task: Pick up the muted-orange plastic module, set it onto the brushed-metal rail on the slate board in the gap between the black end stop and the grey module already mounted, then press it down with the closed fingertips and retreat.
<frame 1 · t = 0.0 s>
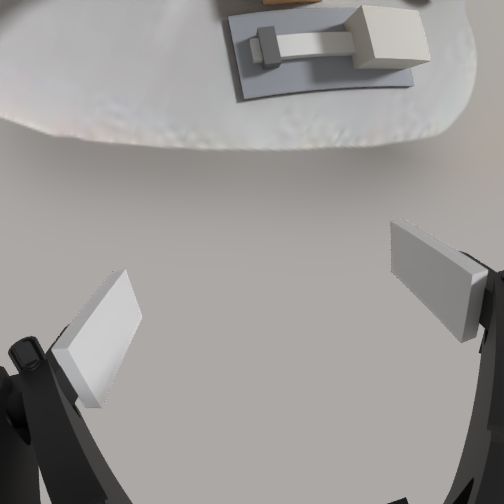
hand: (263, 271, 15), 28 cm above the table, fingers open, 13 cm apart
rail board: (326, 47, 35), on the table
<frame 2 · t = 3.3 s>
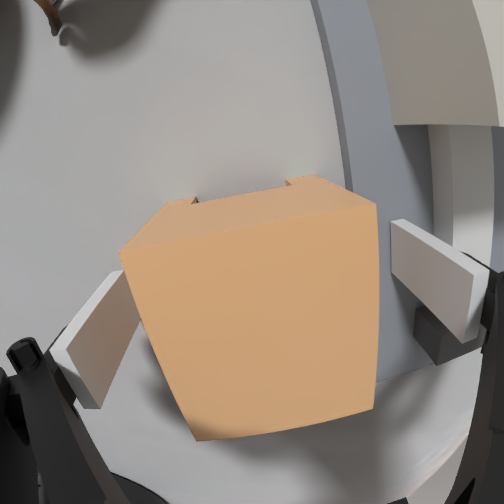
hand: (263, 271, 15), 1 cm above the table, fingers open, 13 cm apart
module: (255, 266, 16), on the table
rail board: (443, 177, 15), on the table
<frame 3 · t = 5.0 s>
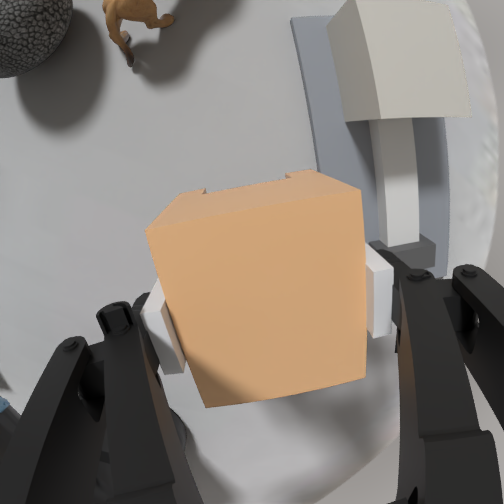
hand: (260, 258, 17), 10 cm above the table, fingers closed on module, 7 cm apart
module: (258, 252, 18), point 9 cm above the table, touching gripper
decorative ball: (47, 33, 19), on the table
rail board: (384, 154, 24), on the table
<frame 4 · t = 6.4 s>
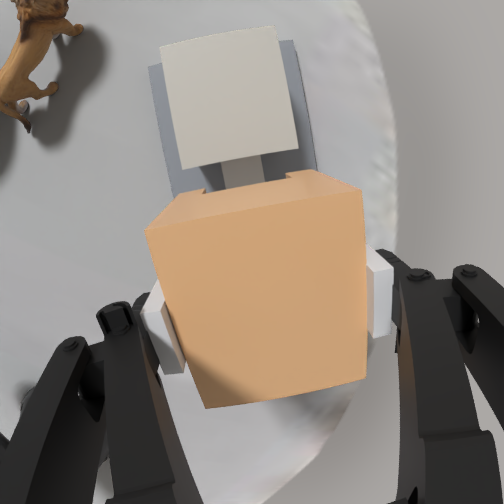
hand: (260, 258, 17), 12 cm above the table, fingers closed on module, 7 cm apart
module: (258, 252, 18), point 10 cm above the table, touching gripper
rail board: (245, 187, 27), on the table
lion figurine: (52, 56, 22), on the table
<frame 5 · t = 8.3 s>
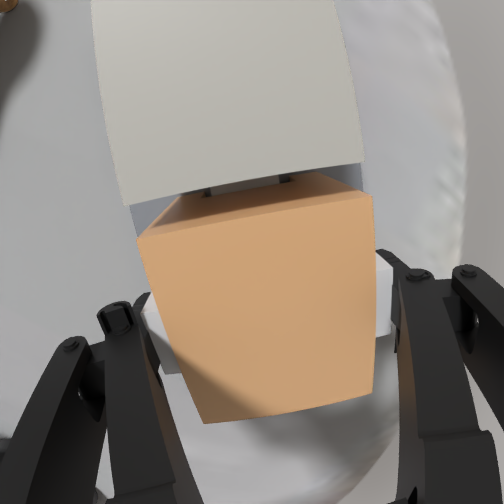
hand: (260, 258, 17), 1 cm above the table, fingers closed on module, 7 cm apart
module: (260, 258, 17), point 1 cm above the table, touching gripper, rail board
rail board: (250, 217, 17), on the table
when the fingers open (1 cm above the table, at t = 8.5 s): module stays where it is, resting on rail board.
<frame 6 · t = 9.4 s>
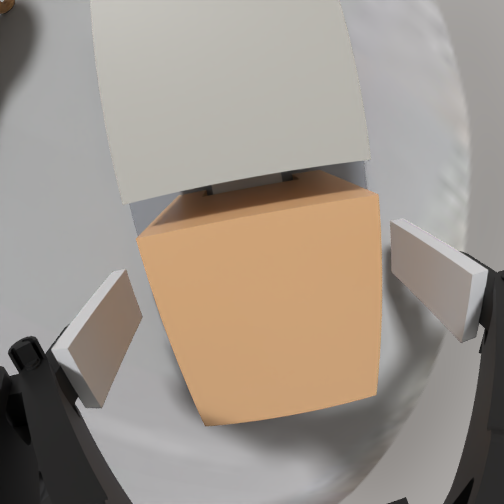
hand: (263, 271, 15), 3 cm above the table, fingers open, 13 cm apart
module: (263, 258, 17), point 1 cm above the table, touching rail board
rail board: (252, 216, 17), on the table
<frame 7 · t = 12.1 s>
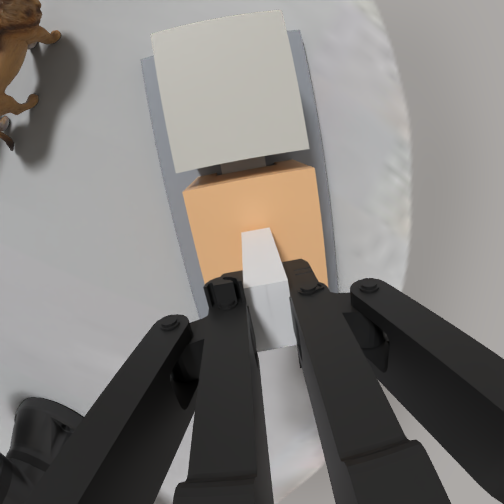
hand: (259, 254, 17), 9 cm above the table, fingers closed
module: (255, 219, 24), point 1 cm above the table, touching rail board
rail board: (248, 191, 24), on the table
lion figurine: (30, 67, 20), on the table
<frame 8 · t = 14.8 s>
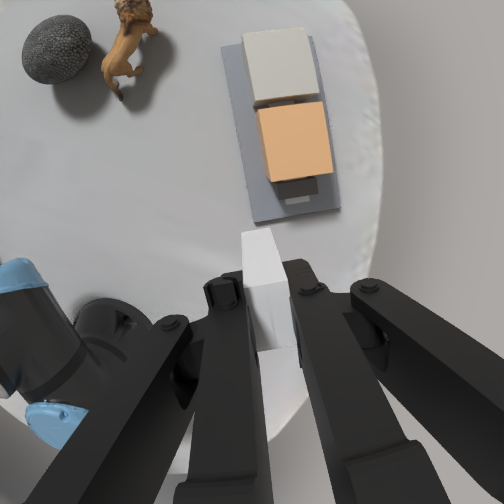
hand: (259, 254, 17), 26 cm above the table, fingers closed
module: (287, 140, 39), point 1 cm above the table, touching rail board
decorative ball: (73, 56, 34), on the table
rail board: (282, 125, 39), on the table
lion figurine: (134, 49, 35), on the table
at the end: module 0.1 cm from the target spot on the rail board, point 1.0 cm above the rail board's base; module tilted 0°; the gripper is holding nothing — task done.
